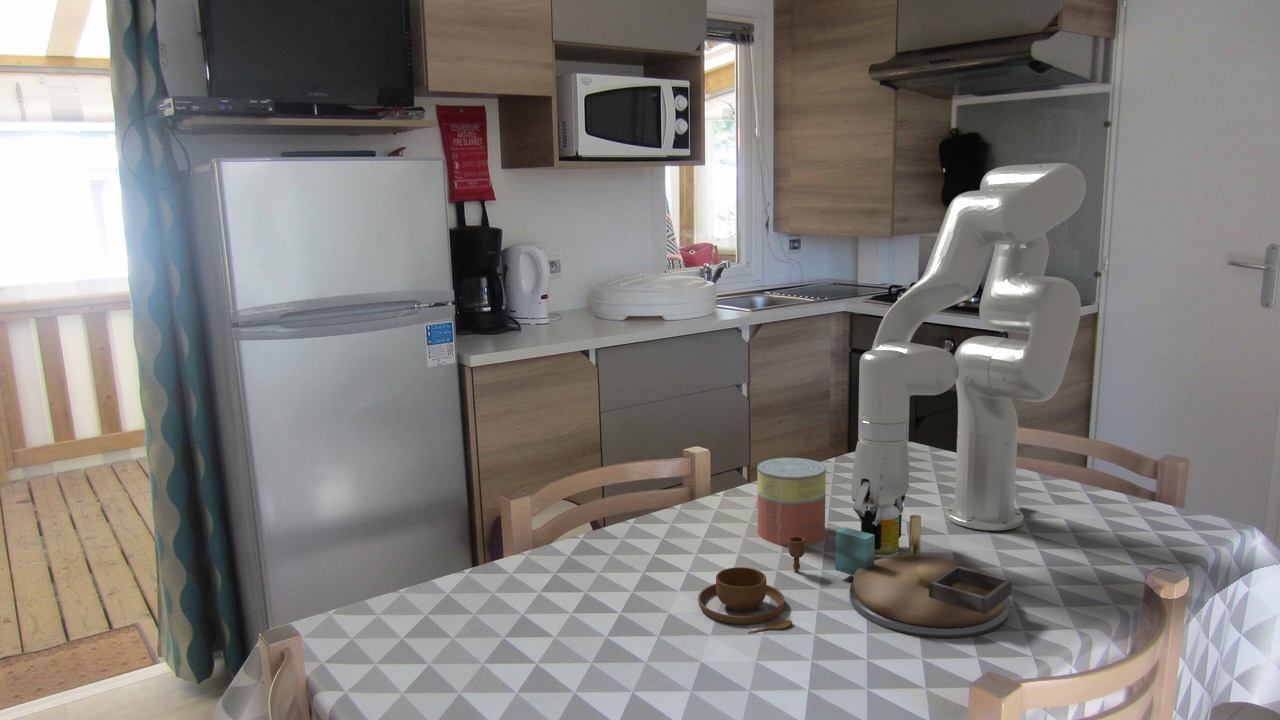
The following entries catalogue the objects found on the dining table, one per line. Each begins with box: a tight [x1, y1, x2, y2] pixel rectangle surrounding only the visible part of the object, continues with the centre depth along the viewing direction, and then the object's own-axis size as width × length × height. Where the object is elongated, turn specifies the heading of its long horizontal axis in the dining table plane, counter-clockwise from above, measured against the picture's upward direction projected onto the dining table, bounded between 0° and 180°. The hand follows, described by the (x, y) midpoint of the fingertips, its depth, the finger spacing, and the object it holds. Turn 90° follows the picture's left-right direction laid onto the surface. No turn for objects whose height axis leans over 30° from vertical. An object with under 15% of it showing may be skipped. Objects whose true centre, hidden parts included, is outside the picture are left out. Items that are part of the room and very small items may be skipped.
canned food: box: [756, 456, 827, 546], centre depth 151 cm, size 11×11×12 cm
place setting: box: [697, 536, 806, 635], centre depth 128 cm, size 18×20×6 cm
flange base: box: [849, 514, 1010, 639], centre depth 125 cm, size 21×21×8 cm
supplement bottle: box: [868, 499, 900, 559], centre depth 143 cm, size 5×5×10 cm
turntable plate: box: [834, 526, 1013, 627], centre depth 127 cm, size 24×20×6 cm
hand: (881, 540), depth 144 cm, fingers closed on supplement bottle, 5 cm apart
